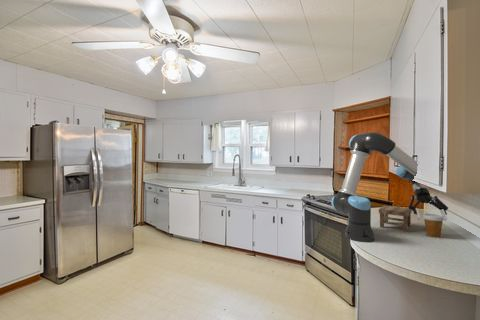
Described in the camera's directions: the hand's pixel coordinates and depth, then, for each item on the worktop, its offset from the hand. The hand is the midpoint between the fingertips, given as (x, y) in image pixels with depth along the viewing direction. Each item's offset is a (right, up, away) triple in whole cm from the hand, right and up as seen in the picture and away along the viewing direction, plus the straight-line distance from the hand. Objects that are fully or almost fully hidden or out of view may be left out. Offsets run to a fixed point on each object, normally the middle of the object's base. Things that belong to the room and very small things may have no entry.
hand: (432, 219), depth 142 cm
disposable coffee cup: (-2, -9, -3) cm, 10 cm away
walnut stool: (-12, -9, +16) cm, 22 cm away
